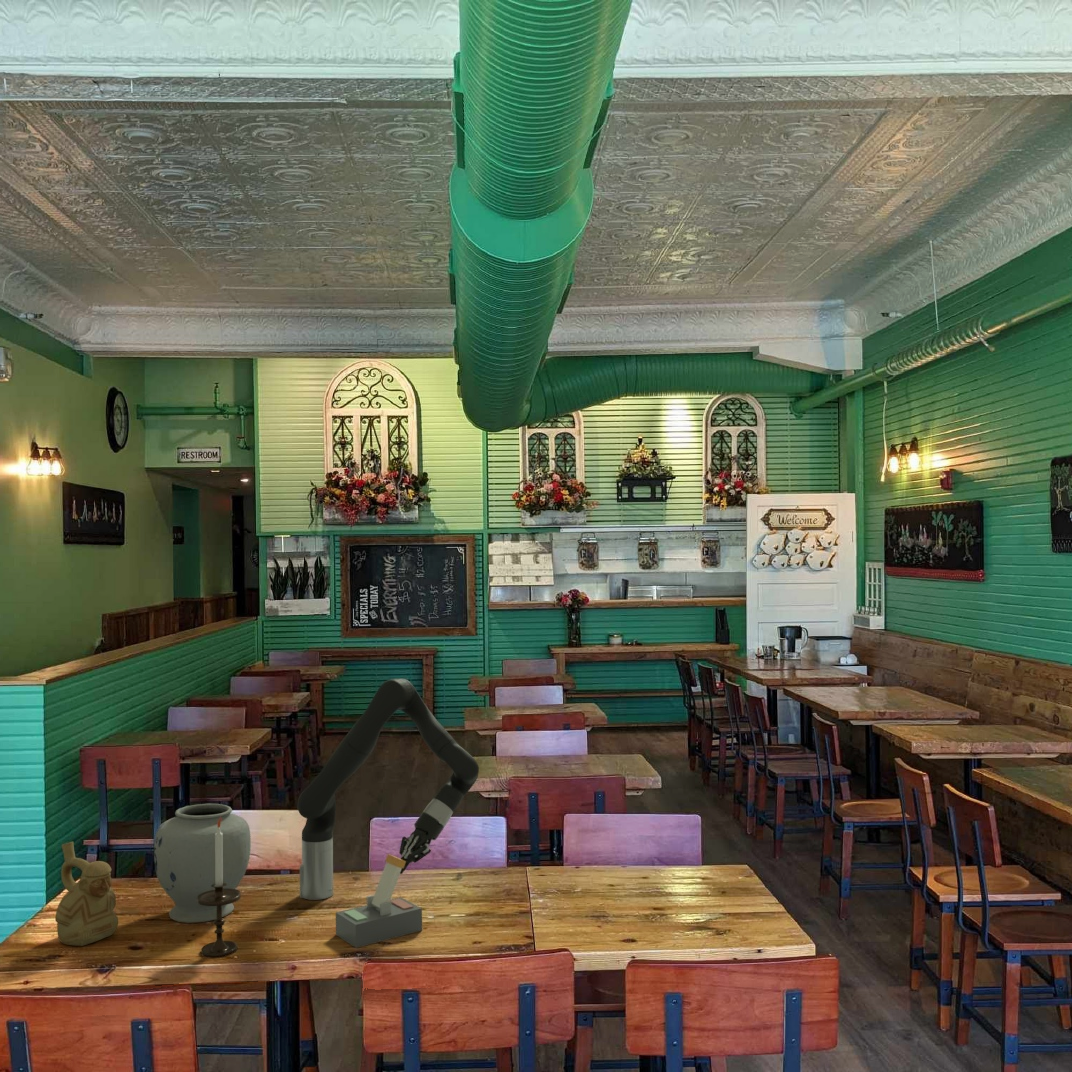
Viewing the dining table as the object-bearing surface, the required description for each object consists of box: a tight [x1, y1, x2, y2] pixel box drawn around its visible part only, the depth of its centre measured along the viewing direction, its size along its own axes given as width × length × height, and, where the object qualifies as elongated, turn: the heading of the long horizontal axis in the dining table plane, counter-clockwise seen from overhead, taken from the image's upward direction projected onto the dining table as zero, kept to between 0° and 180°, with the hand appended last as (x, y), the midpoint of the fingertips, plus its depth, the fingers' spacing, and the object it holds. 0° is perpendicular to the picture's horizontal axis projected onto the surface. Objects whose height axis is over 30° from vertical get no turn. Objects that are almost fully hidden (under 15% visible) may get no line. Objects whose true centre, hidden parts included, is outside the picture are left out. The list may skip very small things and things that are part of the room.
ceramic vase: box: [153, 803, 252, 924], centre depth 291 cm, size 27×27×30 cm
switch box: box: [335, 894, 423, 949], centre depth 273 cm, size 20×12×9 cm, turn 127°
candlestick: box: [197, 817, 242, 958], centre depth 262 cm, size 11×11×35 cm
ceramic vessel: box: [54, 841, 119, 947], centre depth 273 cm, size 17×20×25 cm
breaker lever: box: [372, 853, 406, 910], centre depth 275 cm, size 2×6×14 cm, turn 37°
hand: (397, 871), depth 277 cm, fingers closed
